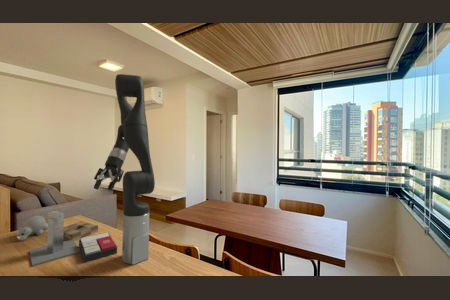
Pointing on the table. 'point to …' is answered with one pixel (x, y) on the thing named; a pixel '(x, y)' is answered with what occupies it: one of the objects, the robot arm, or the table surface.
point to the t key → (55, 231)
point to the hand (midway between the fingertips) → (102, 189)
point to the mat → (43, 256)
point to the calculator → (97, 247)
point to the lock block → (79, 230)
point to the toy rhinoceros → (33, 227)
